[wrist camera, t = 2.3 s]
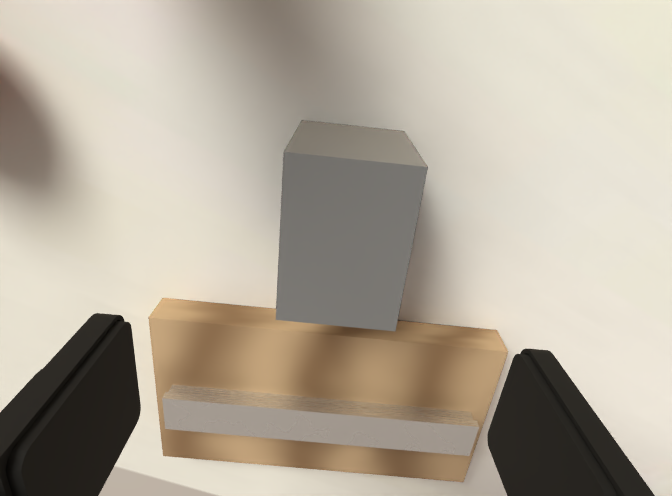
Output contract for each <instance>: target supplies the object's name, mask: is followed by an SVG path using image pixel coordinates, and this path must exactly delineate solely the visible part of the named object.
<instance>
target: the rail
mask: <svg viewBox="0 0 672 496" xmlns="http://www.w3.org/2000/svg"><path fill="white" fill-rule="evenodd" d="M162 402H163V412H164V422H165V429H171V430H183V431H194V432H205V433H216V434H228V435H239V436H250V437H261V438H273V439H284V440H295V441H306V442H317V443H329V444H340V445H351V446H362V447H374V448H385V449H396V450H407V451H419V452H430V453H441V454H452V455H464V456H470V453H471V450H472V447H473V444H474V441H475V438H476V435H477V432H478V430H479V425H478V422H477V420H473V417H472V414H471V412H468V411H457V410H446V409H435V408H424V407H413V406H402V405H391V404H380V403H369V402H358V401H347V400H337V399H326V398H315V397H304V396H293V395H282V394H271V393H260V392H249V391H238V390H227V389H216V388H205V387H195V386H184V385H173V384H172V386H171V388H170V390H169V392H165V394H164V396H163V398H162Z"/></svg>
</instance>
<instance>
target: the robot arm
mask: <svg viewBox="0 0 672 496" xmlns="http://www.w3.org/2000/svg"><path fill="white" fill-rule="evenodd" d="M140 409H141V407H140V397H139V389H138V380H137V372H136V363H135V355H134V346H133V338H132V329H131V325H130V323H129V322H124V319H123V317H122V316H121V315H111V314H99V313H96V314H94V315H92V316H91V317H90V318H89V319H88V320H87V321H86V323H85V324H84V325H83V326H82V327H81V328H80V329H79V330H78V331H77V332H76V333H75V335H74V336H73V337H72V338H71V339H70V340H69V341H68V342H67V343H66V344H65V345H64V346H63V348H62V349H61V350H60V351H59V352H58V353H57V354H56V355H55V356H54V357H53V358H52V360H51V361H50V362H49V363H48V364H47V365H46V366H45V367H44V368H43V369H41V370H40V371H39V372H38V373H37V374H36V375H35V376H34V377H33V378H32V379H31V380H30V381H29V382H28V383H27V384H26V385H25V387H24V388H23V389H22V390H21V391H20V392H19V393H18V394H17V395H16V396H15V397H14V398H13V399H12V401H11V402H10V403H9V404H8V405H7V406H6V407H5V408H4V409H3V410H2V411H1V412H0V496H98V495H99V493H100V491H101V490H102V488H103V486H104V484H105V482H106V480H107V478H108V476H109V475H110V473H111V471H112V469H113V467H114V465H115V463H116V461H117V460H118V458H119V456H120V454H121V452H122V450H123V448H124V446H125V445H126V443H127V441H128V439H129V437H130V435H131V433H132V431H133V429H134V428H135V426H136V424H137V422H138V419H139V416H140ZM488 446H489V449H490V452H491V454H492V457H493V460H494V462H495V465H496V467H497V470H498V472H499V475H500V478H501V480H502V483H503V485H504V488H505V490H506V493H507V496H655V495H654V494H653V493H652V491H651V490H650V488H649V487H648V486H647V484H646V483H645V482H644V480H643V479H642V477H641V476H640V475H639V473H638V472H637V470H636V469H635V468H634V466H633V465H632V463H631V462H630V461H629V459H628V458H627V456H626V455H625V454H624V452H623V451H622V450H621V448H620V447H619V445H618V444H617V443H616V441H615V440H614V438H613V437H612V436H611V434H610V433H609V431H608V430H607V429H606V427H605V426H604V425H603V423H602V422H601V420H600V419H599V418H598V416H597V415H596V413H595V412H594V411H593V409H592V408H591V406H590V405H589V404H588V402H587V401H586V400H585V398H584V397H583V395H582V394H581V393H580V391H579V390H578V388H577V387H576V386H575V384H574V383H573V381H572V380H571V379H570V377H569V376H568V375H567V373H566V372H565V370H564V369H563V368H562V366H561V365H560V363H559V362H558V361H557V359H556V358H555V356H554V355H553V354H552V353H551V352H550V351H548V350H536V349H524V350H523V351H522V352H521V354H516V355H515V356H514V358H513V361H512V364H511V367H510V370H509V373H508V375H507V378H506V381H505V384H504V387H503V390H502V393H501V396H500V399H499V402H498V405H497V408H496V411H495V414H494V417H493V419H492V422H491V425H490V428H489V431H488Z"/></svg>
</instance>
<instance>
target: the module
mask: <svg viewBox="0 0 672 496" xmlns="http://www.w3.org/2000/svg"><path fill="white" fill-rule="evenodd" d="M427 169H428V167H427V165H426V164H425V162H424V160H423V159H422V157H421V156H420V154H419V153H418V151H417V150H416V148H415V147H414V145H413V144H412V142H411V141H410V139H409V138H408V136H407V135H406V133H405V132H404V131H397V130H388V129H379V128H369V127H360V126H351V125H341V124H332V123H323V122H313V121H304V120H302V121H301V123H300V124H299V126H298V128H297V130H296V131H295V133H294V135H293V137H292V138H291V140H290V142H289V144H288V145H287V147H286V149H285V151H284V157H283V178H282V198H281V219H280V240H279V260H278V281H277V301H276V320H282V321H292V322H303V323H313V324H323V325H334V326H344V327H355V328H365V329H375V330H386V331H396V326H397V321H398V316H399V311H400V306H401V301H402V295H403V290H404V285H405V280H406V275H407V270H408V265H409V260H410V255H411V250H412V245H413V240H414V235H415V229H416V224H417V219H418V214H419V209H420V204H421V199H422V194H423V189H424V184H425V179H426V174H427Z"/></svg>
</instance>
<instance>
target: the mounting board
mask: <svg viewBox="0 0 672 496" xmlns="http://www.w3.org/2000/svg"><path fill="white" fill-rule="evenodd" d="M149 326H150V336H151V345H152V355H153V364H154V374H155V383H156V393H157V402H158V412H159V421H160V430H161V440H162V449H163V456H171V457H182V458H193V459H205V460H216V461H228V462H239V463H251V464H262V465H274V466H285V467H296V468H308V469H319V470H331V471H342V472H354V473H365V474H377V475H388V476H399V477H411V478H422V479H434V480H445V481H457V482H464V479H465V476H466V473H467V470H468V467H469V464H470V461H471V458H472V455H473V453H474V450H475V447H476V444H477V441H478V438H479V435H480V432H481V429H482V426H483V424H484V421H485V418H486V415H487V412H488V409H489V406H490V403H491V400H492V397H493V395H494V392H495V389H496V386H497V383H498V380H499V377H500V374H501V371H502V368H503V366H504V363H505V360H506V357H507V354H508V350H507V348H506V347H505V345H504V343H503V341H502V339H501V337H500V335H499V333H498V331H497V330H489V329H479V328H469V327H458V326H448V325H438V324H427V323H417V322H406V321H397V326H396V331H386V330H375V329H365V328H355V327H344V326H334V325H323V324H313V323H303V322H292V321H282V320H276V309H272V308H261V307H251V306H241V305H230V304H220V303H209V302H199V301H189V300H178V299H168V298H162V300H161V301H160V302H159V304H158V305H157V307H156V308H155V309H154V311H153V312H152V313H151V315H150V316H149ZM172 384H173V385H184V386H195V387H205V388H216V389H227V390H238V391H249V392H260V393H271V394H282V395H293V396H304V397H315V398H326V399H337V400H347V401H358V402H369V403H380V404H391V405H402V406H413V407H424V408H435V409H446V410H457V411H468V412H471V414H472V417H473V420H477V422H478V425H479V430H478V432H477V435H476V438H475V441H474V444H473V447H472V450H471V453H470V456H464V455H452V454H441V453H430V452H419V451H407V450H396V449H385V448H374V447H362V446H351V445H340V444H329V443H317V442H306V441H295V440H284V439H273V438H261V437H250V436H239V435H228V434H216V433H205V432H194V431H183V430H171V429H165V422H164V412H163V402H162V398H163V396H164V394H165V392H169V390H170V388H171V386H172Z"/></svg>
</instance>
